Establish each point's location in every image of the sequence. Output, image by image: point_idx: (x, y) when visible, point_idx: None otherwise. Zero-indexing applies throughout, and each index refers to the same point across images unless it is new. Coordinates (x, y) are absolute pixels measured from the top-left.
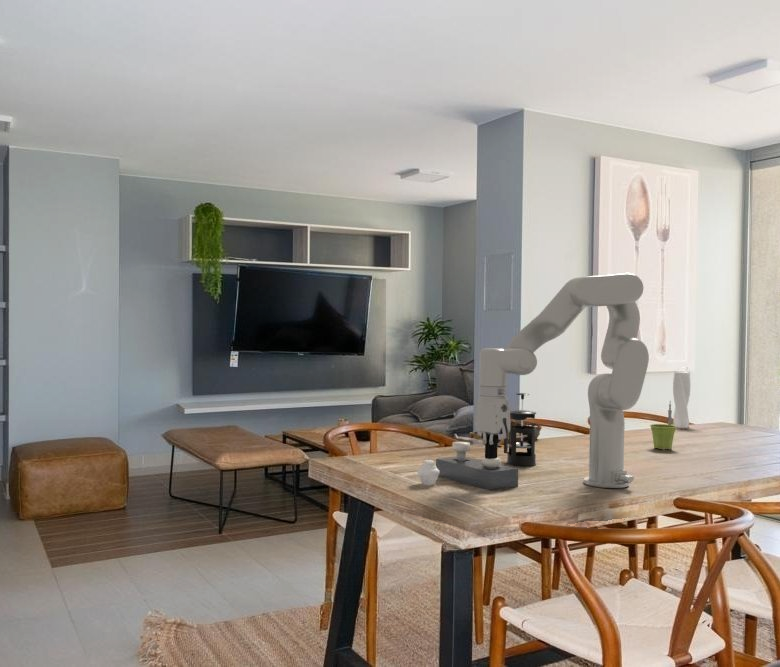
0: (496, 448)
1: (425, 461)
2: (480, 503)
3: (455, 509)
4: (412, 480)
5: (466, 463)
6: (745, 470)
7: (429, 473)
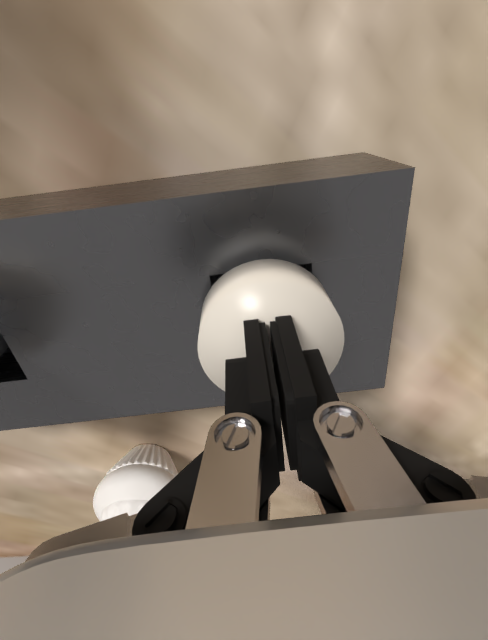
0: (332, 390)
1: None
2: (465, 446)
3: None
4: (65, 469)
5: (96, 376)
6: None
7: None
